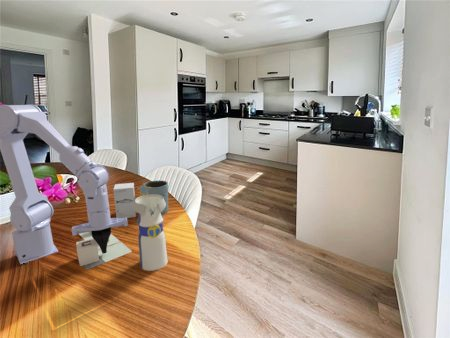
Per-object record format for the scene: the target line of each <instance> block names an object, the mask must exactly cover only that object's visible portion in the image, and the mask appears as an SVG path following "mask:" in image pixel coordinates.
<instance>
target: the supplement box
mask: <svg viewBox="0 0 450 338" xmlns="http://www.w3.org/2000/svg"><path fill="white" fill-rule="evenodd" d="M113 198H114V208H115V209H114V210H115V216H116V217H115V218H126V217H127V219H129V218H136V216H137V212H135V211H134V209H133V205H134V202H135V199H136V193H135V183H134V182H127V183H115V184H114V187H113Z"/></svg>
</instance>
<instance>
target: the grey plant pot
mask: <svg viewBox="0 0 450 338" xmlns="http://www.w3.org/2000/svg"><path fill="white" fill-rule="evenodd" d="M143 183H144V185H145V186H146V187H151V188H150V189H149V190H148V191H147V192H148V195H150V194H156V195H161V196H162V197H163V198H164V200H165V202H166V207H165V209H164V210H163V211H162V212H161V215H162V216H163V215H165V214H167V213H168V212H169V182H168V181H166V180H152V181H151V180H150V181H146V182H143ZM144 195H146V194H143V196H144Z"/></svg>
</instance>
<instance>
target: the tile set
mask: <svg viewBox="0 0 450 338" xmlns="http://www.w3.org/2000/svg"><path fill="white" fill-rule="evenodd" d="M78 235H79V236H80V237H81V238H82V239H83V240H87V239H91V238H93V237H92V233H90V232H86V233H80V234H78ZM96 243H97V242H96ZM97 248H98V254H99V256H100V257H101V258H102V259H103V260H104V261H105V263H108V262H110V261H112V260H116V259H118V258H120V257H122V256H123V257H124V256H126V255H127V254H130V253H132V252H133V250H131V249H130V248H129V247H128V246H126V245H125V244H124V243H123V242H122V241H121V240H119V239H118V238H117V237H116V236H114V235H113V234H112V233H111V234H110V237H109V242H108V243H107V253H104V254H102V251H101V248H100V246H99V245H98V244H97Z"/></svg>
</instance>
